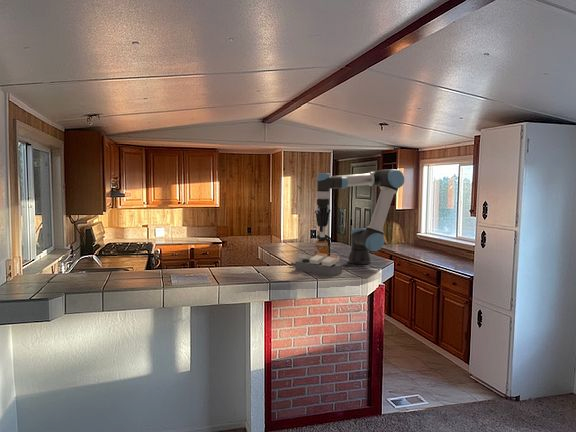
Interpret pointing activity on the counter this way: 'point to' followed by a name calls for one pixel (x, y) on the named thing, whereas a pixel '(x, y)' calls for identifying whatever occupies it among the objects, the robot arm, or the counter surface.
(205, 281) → the counter surface
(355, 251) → the robot arm
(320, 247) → the canister
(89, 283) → the counter surface
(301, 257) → the rocker
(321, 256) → the rocker
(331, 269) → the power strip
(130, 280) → the counter surface
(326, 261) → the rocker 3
